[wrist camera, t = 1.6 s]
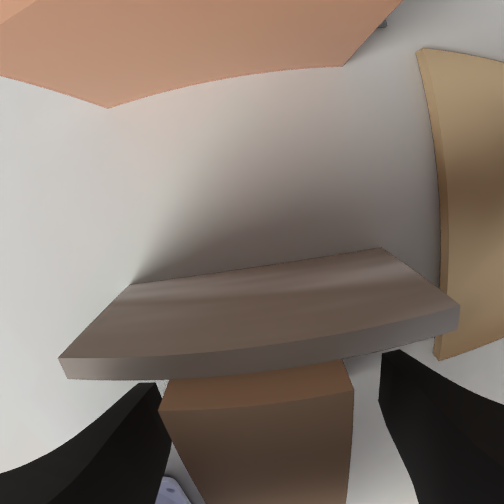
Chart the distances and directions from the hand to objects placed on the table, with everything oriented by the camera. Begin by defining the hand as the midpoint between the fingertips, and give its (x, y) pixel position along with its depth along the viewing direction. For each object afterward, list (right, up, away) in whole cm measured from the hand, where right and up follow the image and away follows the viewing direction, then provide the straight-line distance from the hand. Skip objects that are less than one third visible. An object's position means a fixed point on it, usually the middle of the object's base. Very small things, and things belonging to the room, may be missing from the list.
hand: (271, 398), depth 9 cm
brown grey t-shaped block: (0, +1, +2) cm, 3 cm away
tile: (-2, +11, 0) cm, 11 cm away
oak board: (+12, +7, +1) cm, 14 cm away
